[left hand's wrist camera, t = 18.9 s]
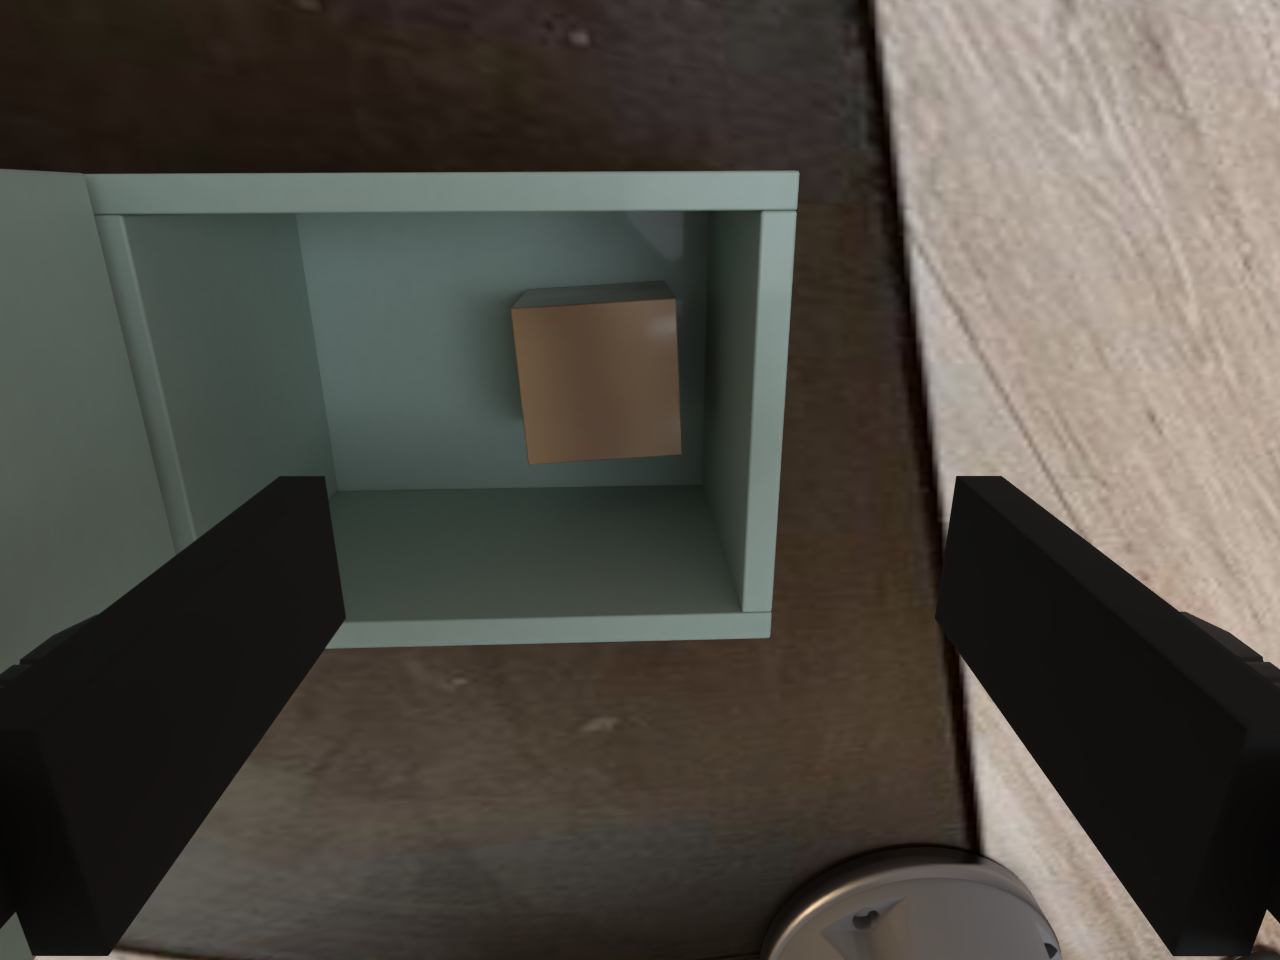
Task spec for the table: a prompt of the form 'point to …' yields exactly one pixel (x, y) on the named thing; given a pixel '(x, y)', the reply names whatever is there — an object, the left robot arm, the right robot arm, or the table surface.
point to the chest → (462, 387)
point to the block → (598, 372)
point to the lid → (65, 432)
